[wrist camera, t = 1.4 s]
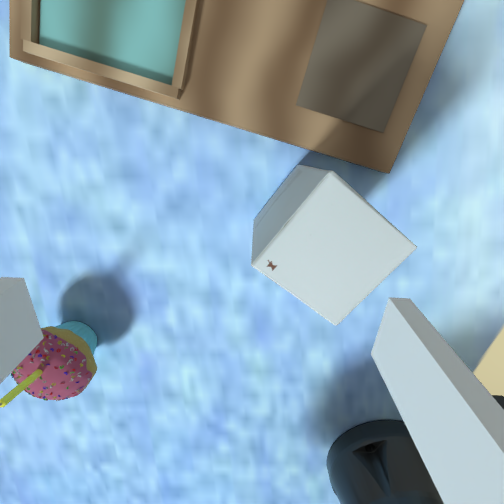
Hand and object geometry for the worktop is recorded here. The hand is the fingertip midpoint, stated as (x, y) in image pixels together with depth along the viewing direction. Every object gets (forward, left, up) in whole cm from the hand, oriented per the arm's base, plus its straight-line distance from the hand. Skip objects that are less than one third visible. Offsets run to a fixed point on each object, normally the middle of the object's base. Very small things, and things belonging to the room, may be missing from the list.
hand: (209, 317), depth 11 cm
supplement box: (-6, -2, -20) cm, 21 cm away
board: (+5, -15, -20) cm, 25 cm away
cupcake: (+15, +20, -20) cm, 32 cm away
